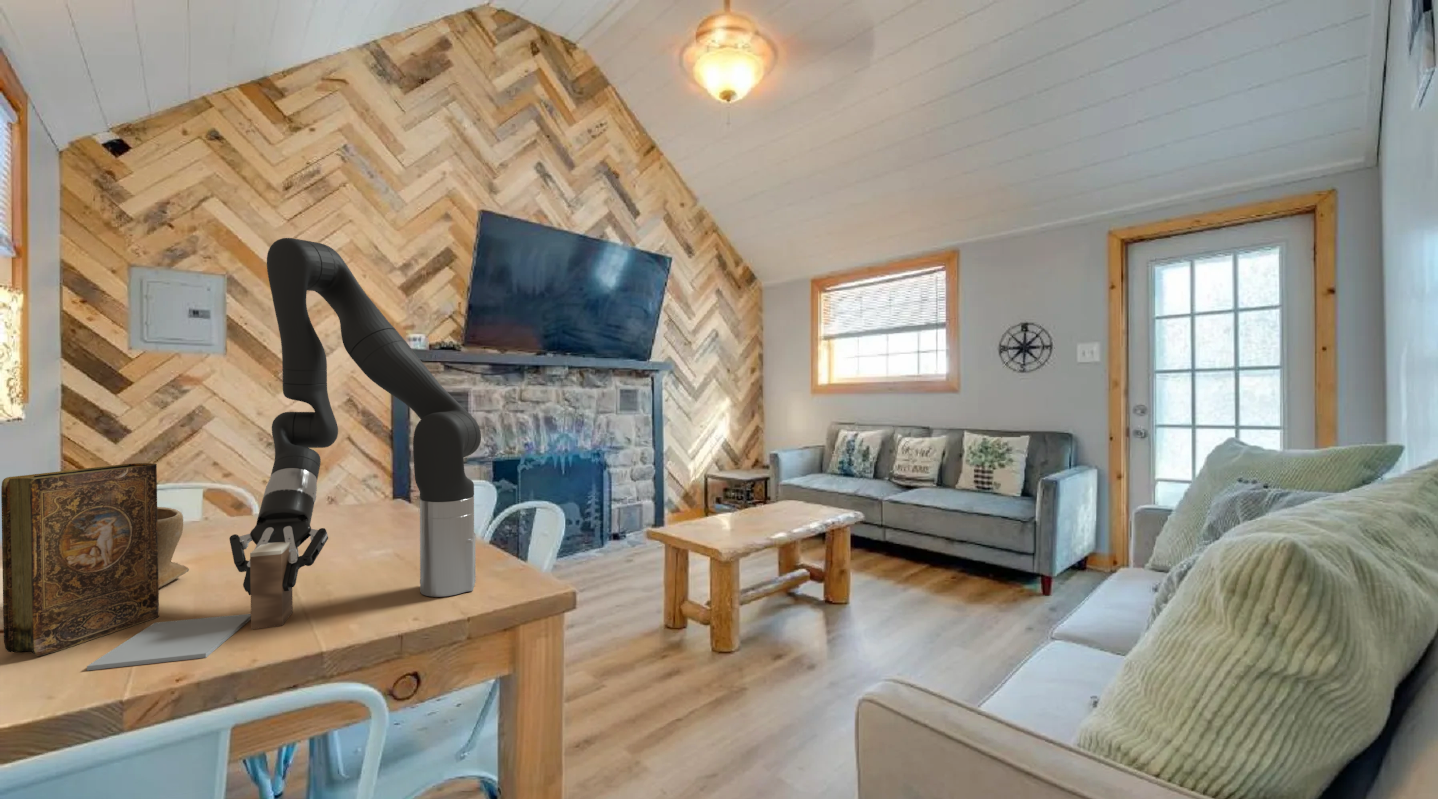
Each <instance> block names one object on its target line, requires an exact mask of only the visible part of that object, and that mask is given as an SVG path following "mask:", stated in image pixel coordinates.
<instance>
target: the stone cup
mask: <svg viewBox="0 0 1438 799" xmlns="http://www.w3.org/2000/svg"><path fill="white" fill-rule="evenodd" d="M157 523H158V583H159V589H160V588H162V587H164V586H166V585H167V584H169V583H171V582H173V581H175V580H176V579H178V578H179V577H181V576H183V575H185V574H186V573H188V572H189V571H190V568H189V567H187V566H186V565H184V564H181V563H178V562H174V561H173V562H172V560H173V556H174V554H175V551H176V549H177V546H178V545H179V542H180V539H181V537H182V535H183V529H184V515H183V514H182V512H181V511H180V510H177V509H175V508H171V507H165V506H157Z"/></svg>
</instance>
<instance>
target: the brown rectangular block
mask: <svg viewBox="0 0 1438 799" xmlns="http://www.w3.org/2000/svg"><path fill="white" fill-rule="evenodd" d="M290 544H291V543H290V542H289V543H285V542H275V543H268V544H264V545H260V546H259V547H257V548H256V549H255V548H254V549H255V550H254V549H253V550H252V551H251V552H250V553H249V560H250V584H251V595H250V614H251V620H250V630H256V629H257V630H259V629H266V628H273V627H274V628H275V627H282V626H283V625H284V624H285V623H286V621H287V620H288V619H289V617H291V615H292V614H293V613H294V612H293V603H294V602H293V587H291V588H290V591H284V589H283V587H282V584H283V579H284V574H285V570H286V565H288V563H289V561H288V555H289V546H290Z"/></svg>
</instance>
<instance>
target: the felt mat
mask: <svg viewBox="0 0 1438 799" xmlns="http://www.w3.org/2000/svg"><path fill="white" fill-rule="evenodd" d="M248 622H251V613H244V614H234V615H224V616H223V615H221V616H213V617H212V616H211V617H210V616H209V617H201V618H199V617H198V618H192V619H191V618H190V619H181V620H180V619H179V620H178V619H177V620H168V621H158V622H153V623H152V624H150V625H149V626H147V627H146V628H144V629H142V630H141V631H139V632H138V633H136V634H134V635H133V636H132V637H130V638H128V639H127V640H126V641H124V642H122V643H121V644H119V645H118V646H116V647H114V648H113V649H111V650H110V651H108V652H107V653H105V654H103V655H101V656H100V657H99V658H97V659H96V660H94V661H93V662H91V663H89V664H88V665H86V671H95V670H104V669H113V668H114V669H115V668H124V667H133V666H141V665H150V664H159V663H171V662H178V661H186V660H187V661H188V660H195V659H196V660H197V659H204V658H205V659H206V658H207V657H208V656H210V655H211V654H212V653H213V652H214V651H215V650H216V649H218V648H219V647H220V646H221V645H222V644H223V643H226V641H227V640H228V639H229V638H231V637H232V636H233V635H234V634H236V633H237V632H238V631H240V629H242V627H244V626H245V625H246V624H248Z"/></svg>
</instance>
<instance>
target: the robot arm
mask: <svg viewBox="0 0 1438 799" xmlns="http://www.w3.org/2000/svg"><path fill="white" fill-rule="evenodd" d="M266 270H267V277H268V282H269V288H270V293H271V297H272V303H273V307H274V312H275V318H276V320H277V325H278V326H277V327H278V332H279V337H280V338H279V339H280V345H281V360H282V361H281V363H282V366H281V367H282V369H281V370H282V371H281V372H282V394H283V396H284V397H285V398H286V399H289V400H292V401H297V402H302V403H305V404H308V405H310V406H311V407H312V409H313V411H284V412H282V413H279V414H278V415H277V416H276V417H275V418H274V419H273V421H272V423H271V433H272V439H273V440H272V441H273V446H274V461H273V466H272V469H271V474H270V477H269V480H268V482H267V484H266V486H265V489H264V493H263V496H262V502H261V505H260V508H259V513H258V515H257V518H256V519H257V520H256V525H255V526H254V528H252V529H251V531H250V532H249V533H247V534H244V535H243V534H242V535H241V536H239V535H238V534H232V535H230V536H229V539H228V540H229V544H230V548H231V549H230V550H231V554H232V558H233V563H234V565H235V568H236V569H237V571H238V572H239V573H244V572H245V574H244V575H245V576H244V580H243V583H242V585H243V586H242V587H243V589H244V591H245V592H246V593H247V594H248V595H249V596H251V584H250V559H246V553H245V550H247V548H248V547H249V543H250V542H254V545H255V548H254V549H253V550H255V549H256V548H257V547H259V546H260V545H264V544H268V543H275V542H285V543H289V542H290V543H291V544H290V546H289V555H288V561H289V563H288V565H286V570H285V574H284V579H283V584H282V587H283V589H284V591H290V588H291V587H292V588H294V587H295V585H296V583H297V579H298V573H299V570H300V569H301V568H302V567H305V566H307V567H311V566H313V564H314V563H315V561H316V559H317V558H318V556H319V555H320V553H321V551H322V550H323V548H324V546H325V544H326V543H327V542H328V540H329V535H328V532H327V529H326V528H324V527H320V528H319V529H313V528H312V527H311V522H312V516H313V513H314V507H315V502H316V500H317V491H318V489H317V488H318V487H317V486H318V484H317V482H318V477H319V473H320V467H321V456H320V454H319V453H318V452H317V451H316V450H314V449H316V448H317V449H322V448H323V449H324V448H325V449H326V448H329V447H330V446H332V445H333V444H334V443H335V441H336V440H337V438H338V435H339V426H338V423H337V420H336V417H335V415H334V412H333V409H332V406H331V402H330V398H329V392H328V362H327V354H326V351H325V348H324V346H323V343H322V341H321V340H320V337H319V336H318V334H317V332H316V330H315V327H314V326H313V324H312V321H311V318H310V316H309V311H308V306H307V292H309V291H311V292H315V293H317V294H318V295H319V296H321V297H322V298H323V299H324V300H325V301H326V303H327V304H328V305H329V306H330V307H331V309H332V310H333V311H334V312H335V314H336V315H337V318H338V320H339V325H340V335H341V341H342V343H343V344H342V345H343V347H344V348H345V351H346V352H347V354H348V355H349V357H350V358H351V359H352V360H353V361H354V363H355V364H356V365H357V366H358V367H359V369H360V370H361V371H362V372H363V373H364V375H366V376H367V378H369V379H370V381H372V382H374V384H376V386H378V387H380V388H381V389H383V390H385V392H387V393H389V394H390V395H392V396H393V397H394V398H396V399H397V400H398V401H401V403H404V404H405V405H406V406H407V407H409V408H410V409H411V410H412V411H413V412H414V413H415V414H416V415H417V417H419V419H420V420H419V421H418V423H417V425H416V426H415V428H414V432H413V436H412V438H413V440H412V448H413V449H412V450H413V453H412V454H413V467H414V468H413V469H414V470H413V471H414V472H413V473H414V481H415V485H416V487H417V489H418V491H419V559H420V560H419V565H420V566H419V567H420V568H419V572H420V574H419V575H420V576H419V578H420V579H419V585H420V586H419V587H420V588H419V590H420V593H421V595H424V596H427V597H435V598H437V597H440V598H441V597H449V596H455V595H460V594H463V593H466V592H473V591H474V588H475V584H476V577H477V576H476V533H475V484H474V482H473V480H472V479H470V478H468V477H467V476H466V473H465V459H464V458H466V457H470V456H471V455H473V454H474V453H475V452H477V449H478V448H479V446H480V444H481V442H482V433H481V428H480V426H479V423H478V422H477V420H476V419H475V418H474V416H472V414H471V413H470V412H468V411H467V409H466V408H465V407H463V406H462V405H461V404H460V403H459V402H458V401H457V400H456V399H455V398H454V397H453V395H451V394H450V393H449V392H448V391H447V390H446V389H445V388H444V387H443V386H442V385H441V384H440V382H439V381H438V380H437V379H436V377H435V376H434V375H433V374H432V371H430V369H429V368H428V367H427V366H426V365H425V364H424V363H423V360H421V359H420V358H419V356H418V355H417V354H416V353H415V352H414V350H413V349H412V348H411V346H410V345H409V344H408V342H407V341H406V340H405V339H404V337H402V335H401V334H400V333H399V331H398V330H397V329H396V328H395V327H394V325H392V324H391V322H389V321H388V319H387V318H386V317H385V316H384V314H383V313H382V312H381V311H380V309H379V308H378V306H377V305H376V304H375V303H374V301H373V300H372V299H371V298H370V297H369V296H368V295H367V293H366V292H365V291H364V289H363V288H362V286H361V285H360V283H359V282H358V280H357V279H356V277H355V276H354V274H353V272H352V271H351V269H350V267H348V264H346V262H345V261H344V259H343V258H342V256H341V255H340V254H339V253H338V251H336V250H335V249H334V248H332V247H330V246H329V245H326V244H324V243H322V242H321V243H320V242H317V241H316V242H315V241H309V240H305V239H301V238H300V239H298V238H294V237H293V238H292V237H282V238H280V239H276V240H275V241H274V242H273V243H272V244H270V247H269V248H268V251H267V255H266ZM309 538H310V542H309V544H308V545H307V547H306V549H305V551H304V552H303V554H302V555H300V554H299V553H300V552H299V547H300V546H301V545H302V544H303V543H304V542H305V541H306V540H308V539H309Z"/></svg>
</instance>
